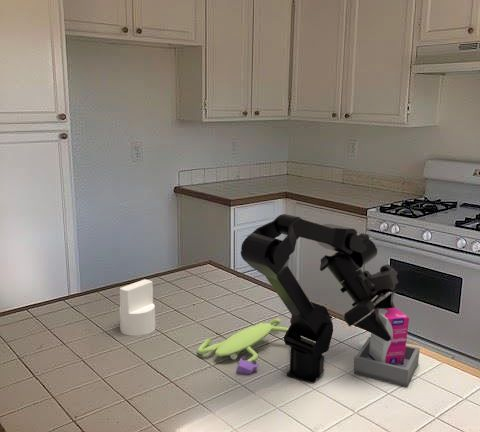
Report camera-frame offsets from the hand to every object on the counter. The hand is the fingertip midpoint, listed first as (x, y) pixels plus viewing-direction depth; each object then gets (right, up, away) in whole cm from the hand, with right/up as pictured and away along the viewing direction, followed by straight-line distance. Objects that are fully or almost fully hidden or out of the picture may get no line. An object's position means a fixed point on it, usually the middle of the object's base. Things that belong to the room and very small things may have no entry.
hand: (395, 333), depth 119 cm
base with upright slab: (-61, -4, +23) cm, 65 cm away
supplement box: (-1, -7, +2) cm, 7 cm away
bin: (-1, -9, +3) cm, 9 cm away
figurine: (-29, -7, +11) cm, 32 cm away
